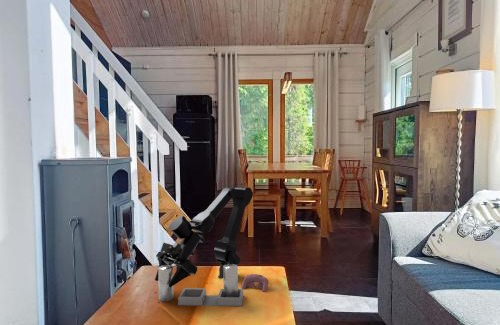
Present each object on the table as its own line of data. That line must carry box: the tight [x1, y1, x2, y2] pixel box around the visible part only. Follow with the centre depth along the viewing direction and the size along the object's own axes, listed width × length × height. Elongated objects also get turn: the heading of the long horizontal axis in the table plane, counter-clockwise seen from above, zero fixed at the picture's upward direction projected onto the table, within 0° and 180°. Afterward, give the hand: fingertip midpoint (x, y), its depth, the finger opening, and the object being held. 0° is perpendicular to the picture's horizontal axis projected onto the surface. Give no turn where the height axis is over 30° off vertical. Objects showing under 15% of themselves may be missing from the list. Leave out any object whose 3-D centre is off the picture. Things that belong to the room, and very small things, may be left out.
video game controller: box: [240, 273, 269, 293], centre depth 136 cm, size 10×5×7 cm, turn 71°
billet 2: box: [222, 264, 239, 297], centre depth 124 cm, size 5×5×12 cm
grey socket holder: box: [177, 287, 245, 307], centre depth 125 cm, size 22×9×4 cm, turn 87°
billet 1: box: [157, 265, 174, 304], centre depth 127 cm, size 5×5×12 cm
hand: (162, 283), depth 126 cm, fingers open, 8 cm apart
